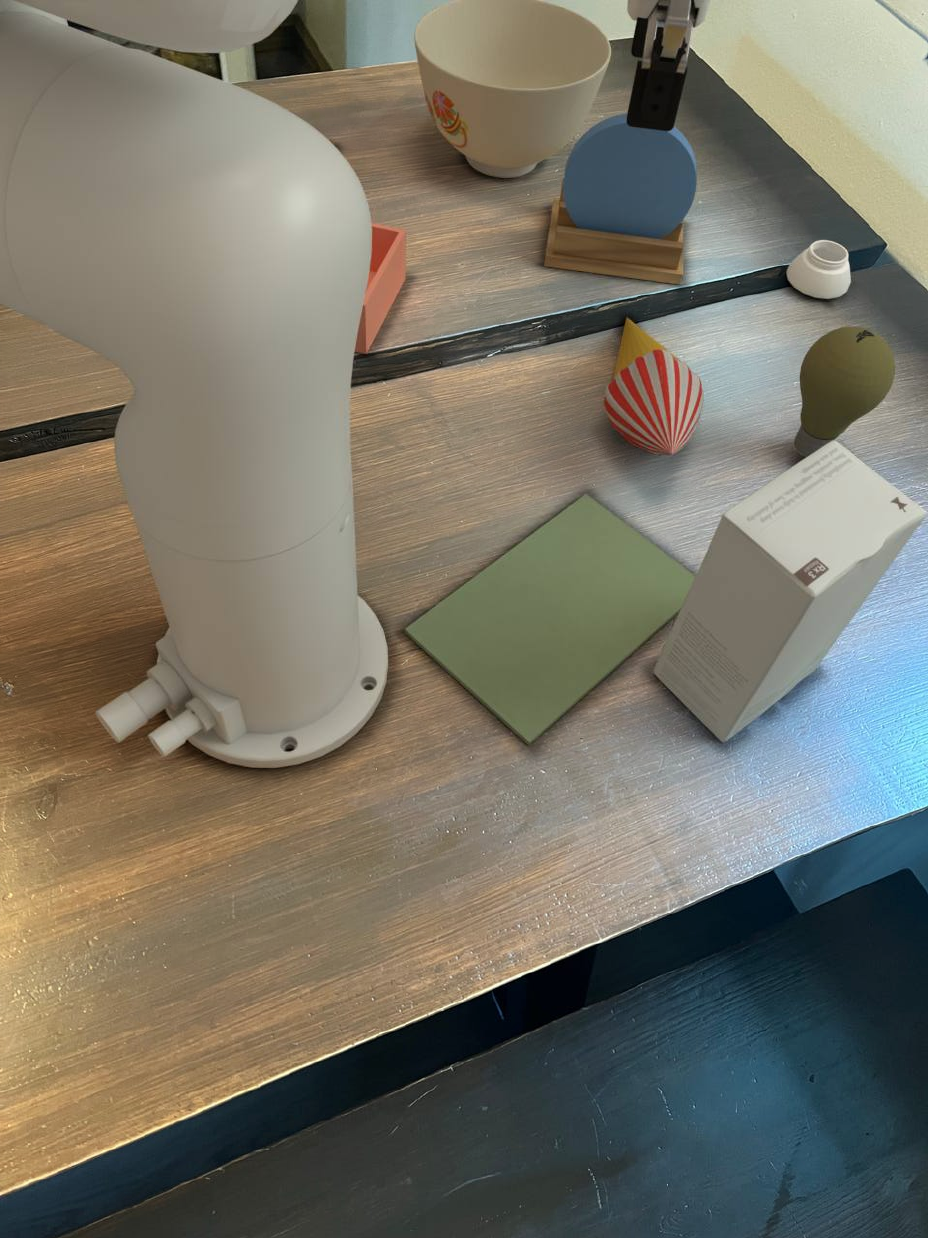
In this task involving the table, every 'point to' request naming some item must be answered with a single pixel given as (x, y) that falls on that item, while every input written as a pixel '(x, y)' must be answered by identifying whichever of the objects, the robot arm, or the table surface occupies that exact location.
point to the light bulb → (841, 384)
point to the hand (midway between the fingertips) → (650, 90)
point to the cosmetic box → (782, 585)
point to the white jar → (821, 270)
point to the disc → (630, 179)
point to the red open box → (381, 281)
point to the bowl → (509, 78)
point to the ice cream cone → (652, 395)
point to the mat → (553, 616)
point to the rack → (612, 250)
